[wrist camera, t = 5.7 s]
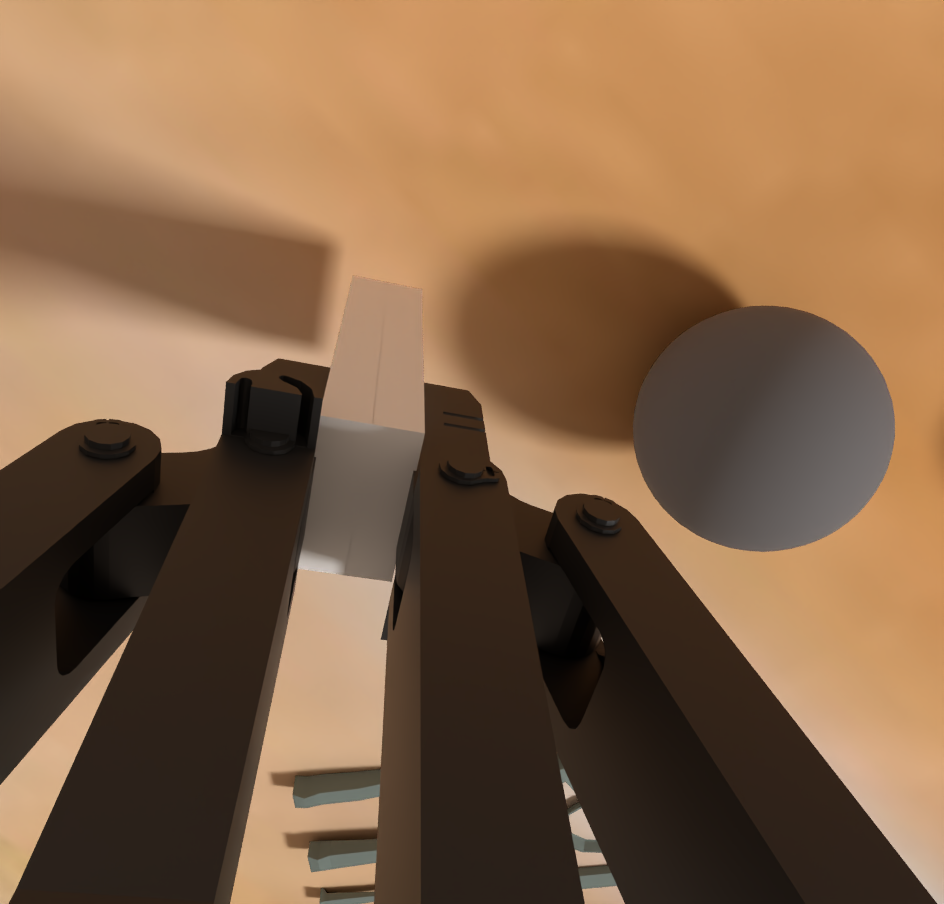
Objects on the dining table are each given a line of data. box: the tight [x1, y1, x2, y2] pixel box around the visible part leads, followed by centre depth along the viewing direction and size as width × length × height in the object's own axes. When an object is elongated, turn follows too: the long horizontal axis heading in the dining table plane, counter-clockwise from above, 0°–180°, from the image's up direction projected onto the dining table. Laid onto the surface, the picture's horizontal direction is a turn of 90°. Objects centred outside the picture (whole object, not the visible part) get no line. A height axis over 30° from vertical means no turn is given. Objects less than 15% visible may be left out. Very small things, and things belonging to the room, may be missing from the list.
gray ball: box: [633, 306, 895, 552], centre depth 18 cm, size 6×6×6 cm
